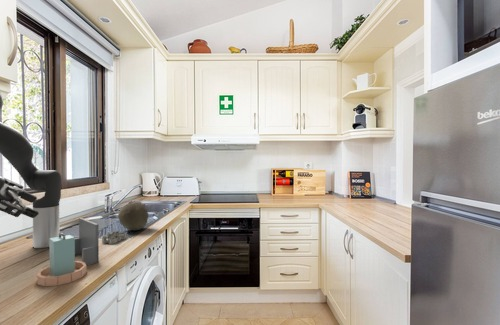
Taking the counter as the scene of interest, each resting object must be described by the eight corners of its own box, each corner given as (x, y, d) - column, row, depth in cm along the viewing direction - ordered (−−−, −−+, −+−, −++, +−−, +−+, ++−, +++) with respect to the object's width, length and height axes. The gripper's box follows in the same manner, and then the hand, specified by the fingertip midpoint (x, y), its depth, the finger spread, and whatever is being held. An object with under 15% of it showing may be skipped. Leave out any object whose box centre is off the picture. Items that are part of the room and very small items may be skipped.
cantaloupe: (137, 226, 147) (137, 200, 147) (153, 229, 140) (153, 202, 140) (113, 231, 135) (113, 203, 135) (129, 236, 128) (129, 205, 128)
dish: (51, 269, 88) (51, 262, 88) (92, 267, 90) (92, 260, 90) (27, 287, 76) (27, 279, 76) (74, 283, 78) (74, 275, 78)
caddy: (54, 280, 79) (53, 236, 79) (49, 275, 82) (49, 233, 82) (74, 274, 84) (74, 232, 83) (69, 270, 87) (69, 230, 87)
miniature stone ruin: (112, 245, 115) (112, 236, 115) (98, 244, 117) (98, 235, 117) (128, 238, 125) (128, 229, 125) (115, 237, 127) (115, 228, 127)
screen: (83, 266, 91) (83, 227, 91) (67, 255, 102) (67, 220, 102) (98, 262, 95) (98, 224, 95) (82, 251, 106) (81, 217, 106)
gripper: (-14, 185, 65) (47, 211, 77) (-11, 160, 75) (43, 187, 87) (-40, 206, 64) (26, 230, 76) (-34, 178, 73) (24, 203, 85)
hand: (35, 207), depth 81 cm, fingers open, 8 cm apart
